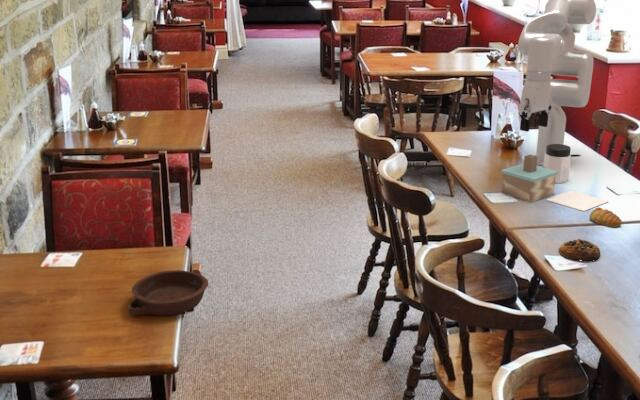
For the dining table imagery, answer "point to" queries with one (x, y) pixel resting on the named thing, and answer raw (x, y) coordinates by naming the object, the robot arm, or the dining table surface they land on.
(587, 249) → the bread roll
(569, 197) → the mat
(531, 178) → the lid
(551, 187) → the box
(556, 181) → the jar
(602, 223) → the pastry
